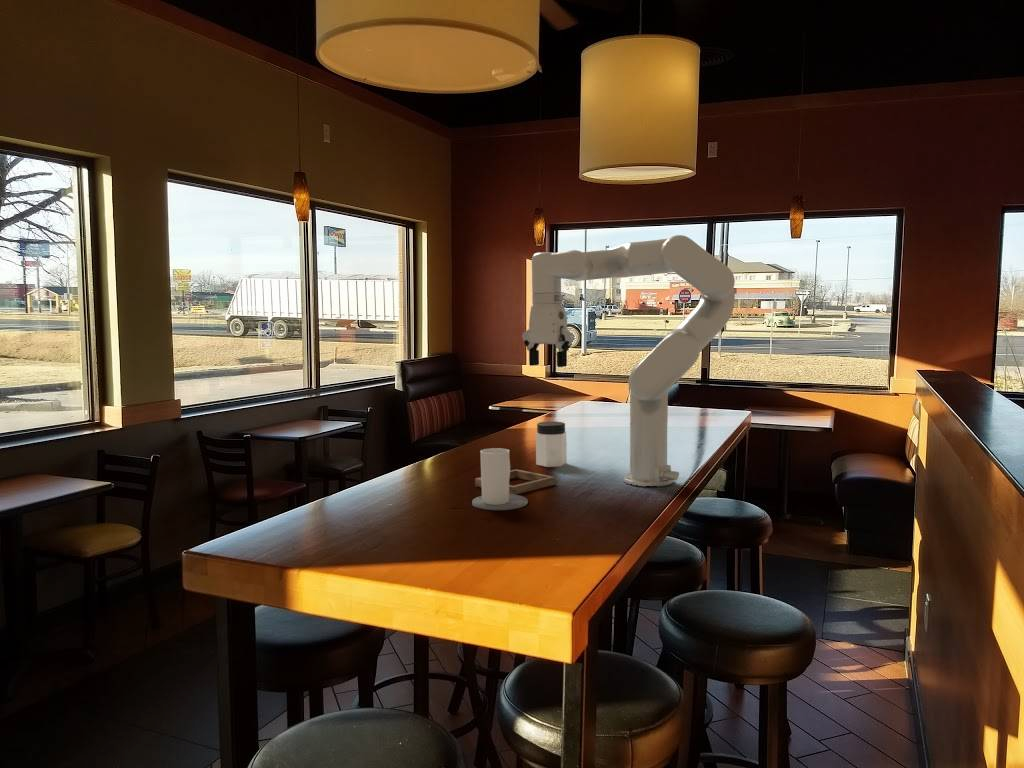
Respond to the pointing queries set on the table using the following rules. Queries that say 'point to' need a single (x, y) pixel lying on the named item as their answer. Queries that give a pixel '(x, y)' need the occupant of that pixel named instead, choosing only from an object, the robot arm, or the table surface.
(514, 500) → the grey round disc
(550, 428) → the jar
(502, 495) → the mug
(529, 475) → the corral
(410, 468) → the table surface
